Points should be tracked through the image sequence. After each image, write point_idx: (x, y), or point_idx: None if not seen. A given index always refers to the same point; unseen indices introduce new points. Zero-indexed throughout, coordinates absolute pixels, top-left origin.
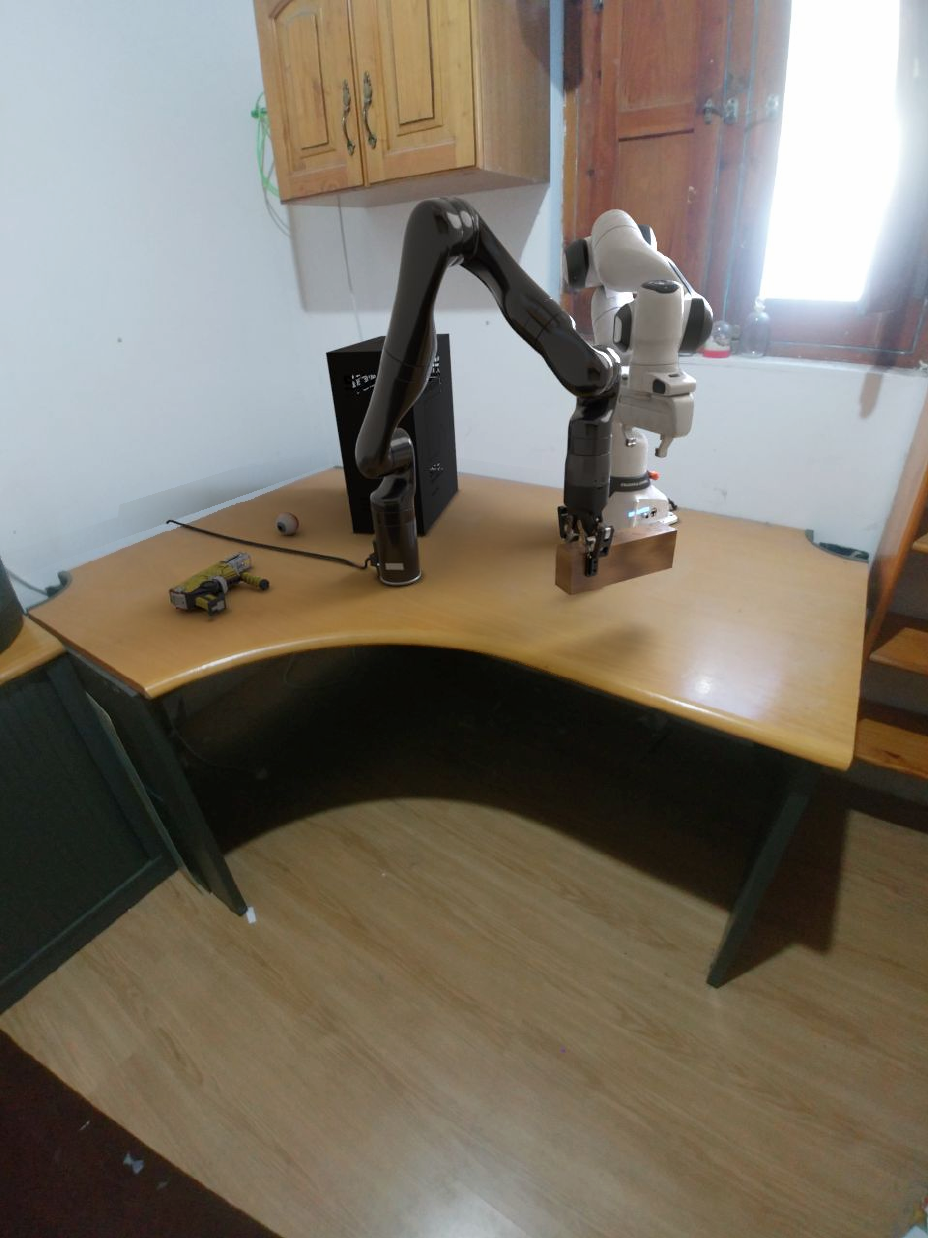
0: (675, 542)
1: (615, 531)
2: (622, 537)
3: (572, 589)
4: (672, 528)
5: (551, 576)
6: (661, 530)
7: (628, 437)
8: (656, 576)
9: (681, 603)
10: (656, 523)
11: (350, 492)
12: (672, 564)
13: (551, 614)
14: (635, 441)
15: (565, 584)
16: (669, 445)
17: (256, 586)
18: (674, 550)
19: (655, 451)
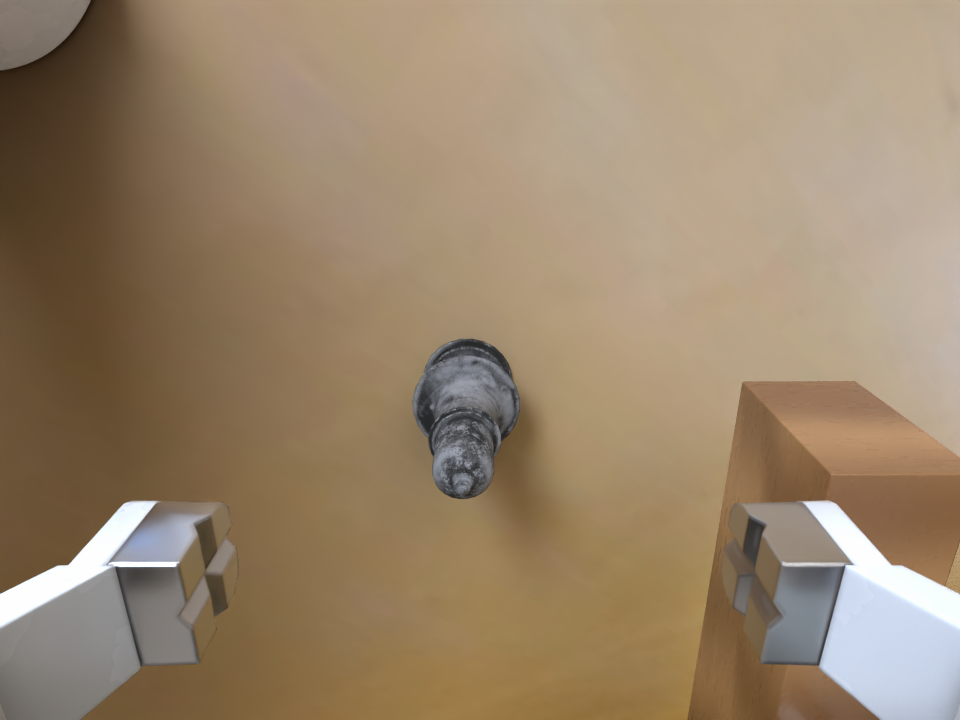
0: (931, 438)
1: (781, 698)
2: (853, 711)
3: None
4: (954, 486)
5: (367, 488)
6: (929, 543)
7: (130, 647)
8: (562, 174)
9: (775, 246)
10: (847, 505)
11: None
12: (863, 387)
13: (583, 599)
14: (198, 535)
15: None
16: (945, 590)
17: None
18: (905, 418)
19: (747, 623)
